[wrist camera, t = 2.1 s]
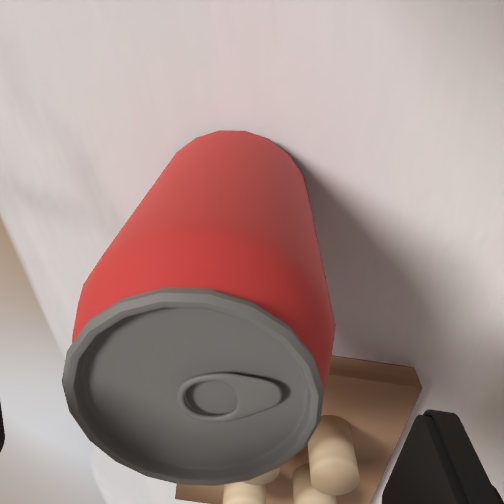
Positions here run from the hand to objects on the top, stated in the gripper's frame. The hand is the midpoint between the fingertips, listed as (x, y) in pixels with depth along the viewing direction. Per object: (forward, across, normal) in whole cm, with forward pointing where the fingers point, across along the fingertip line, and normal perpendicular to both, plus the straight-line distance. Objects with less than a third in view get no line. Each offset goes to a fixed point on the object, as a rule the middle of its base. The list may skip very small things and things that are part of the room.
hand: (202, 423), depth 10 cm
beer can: (+12, 0, -1) cm, 12 cm away
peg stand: (+12, -5, +13) cm, 18 cm away
